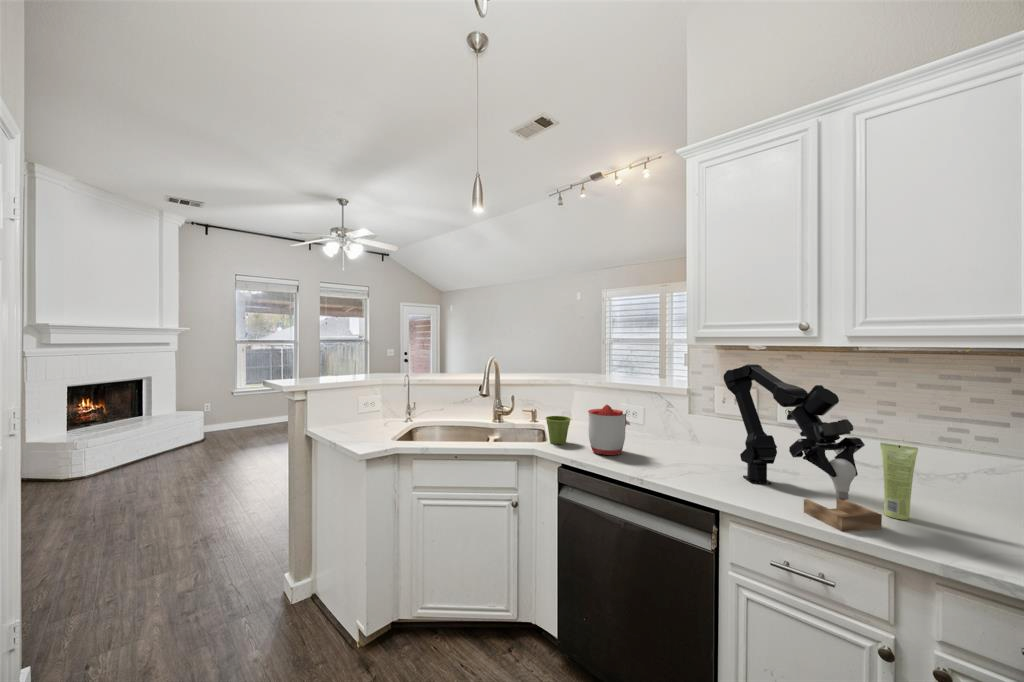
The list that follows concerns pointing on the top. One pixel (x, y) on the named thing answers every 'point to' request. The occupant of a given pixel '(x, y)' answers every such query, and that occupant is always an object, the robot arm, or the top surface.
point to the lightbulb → (842, 477)
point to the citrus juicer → (607, 430)
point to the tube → (898, 478)
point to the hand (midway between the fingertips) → (845, 476)
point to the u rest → (844, 515)
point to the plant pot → (558, 428)
